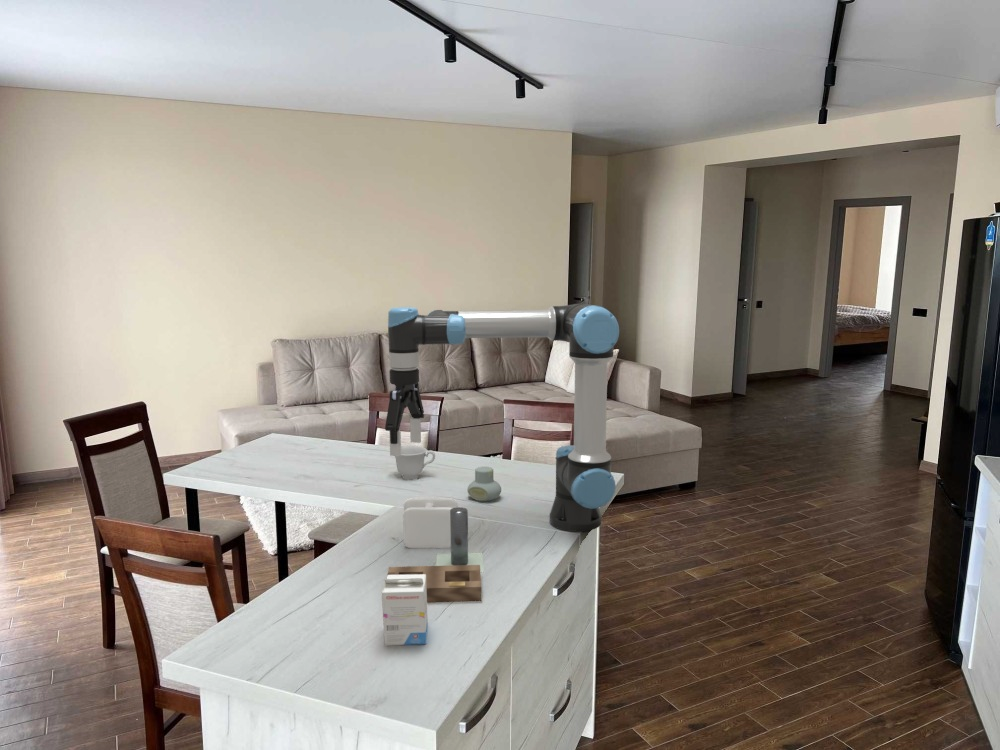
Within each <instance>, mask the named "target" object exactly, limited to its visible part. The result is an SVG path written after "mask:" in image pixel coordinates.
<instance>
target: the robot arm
mask: <svg viewBox="0 0 1000 750" xmlns="http://www.w3.org/2000/svg"><path fill="white" fill-rule="evenodd" d="M387 320H388V321H387V329H388V332H387V334H388V337H387V338H388V354H387V359H388V360H389V361H388V362H389V368H390V369H389V383H390V384H391V385H394V386H395V389H394V390H390V391H389V400H388V401H389V403H388V407H387V412H386V413H387V414H386V420H385V426H384V429H385V431H388V432H389V456H390V457H395V456H401V447H402V431H401V430H400V428H401V427H400V426H401V423H402V420H403V419H402V418H403V416H404V412H405V409H406V408H407V409H408V411H409V414H410V416H411V418H410V419H409V424H410V425H409V429H410V430H409V432H410V433H409V434H410V436H409V437H410V443H413V444H421V443H422V435H421V434H422V427H421V425H422V424H421V423H422V422H421V421H422V419H424V417H425V414H424V413H425V411H424V406H423V402H422V398H421V397H422V396H421V393H420V384H419V382H420V369H419V366H420V354H419V353H420V352H419V351H420V350H419V345H422V346H424V345H451V346H452V345H453V346H454V345H458V344H459V345H461V344H463V343H465V340H466V339H486V338H487V339H490V338H491V339H494V338H495V339H497V338H499V339H500V338H508V339H509V338H547V339H549V341H560V342H566V343H569V345H568V347H569V349H568V351H569V353H568V355H569V358H570V359H571V360H572V361H573V362H574V405H573V406H574V407H573V408H574V411H573V412H574V413H573V415H574V417H573V445H572V444H571V445H563V446H560V447H558V448H556V449H557V450H556V452H555V498H554V500H553V503H552V506H551V509H550V512H549V523H550V524H549V525H550V526H553V527H555V528H556V529H559V530H561V531H567V532H587V531H592V530H595V529H597V528H600V527H601V525H602V515H601V511H600V508H602V507H604V506H606V505H607V504H608V503H609V502H611V500H612V499H613V497H614V495H615V493H616V488H617V487H616V486H617V485H616V480H615V478H614V475H613V474H612V456H611V454H610V453H609V452H608V451H607V449H606V448H607V447H606V445H607V408H608V407H607V406H608V402H607V401H608V399H607V397H608V394H607V393H608V364H609V362H611V360H612V359H613V358H614V349H615V348H614V346H615V345H616V344H617V342H618V340H619V336H620V327H619V323H618V321H617V318H616V316H614V314H613V313H612V312H611V311H609V310H608V309H607V308H604V307H603V306H601V305H594V304H590V303H574V304H566V305H555V306H554V305H551V306H549V307H548V308H547V309H519V310H518V309H514V310H512V309H511V310H508V309H507V310H503V309H502V310H442V309H434V310H433V311H431V312H429V313H427V315H423V314H422V315H421V314H419V310H418V308H417V307H411V306H409V307H408V306H407V307H406V306H402V307H400V306H399V307H392V308H391V309H389V311H388V319H387Z"/></svg>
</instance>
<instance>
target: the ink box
mask: <svg viewBox="0 0 1000 750" xmlns="http://www.w3.org/2000/svg"><path fill="white" fill-rule="evenodd" d="M383 581H384V585H383V588H382V592H381V602H382V619H383V645H384V646H404V645H405V646H407V645H411V646H412V645H426V644H427V636H428V627H429V626H428V623H429V622H428V620H429V619H428V603H427V588H426V574H413V575H387V574H386V578H385V579H383Z"/></svg>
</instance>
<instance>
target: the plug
mask: <svg viewBox="0 0 1000 750" xmlns="http://www.w3.org/2000/svg"><path fill="white" fill-rule="evenodd" d="M468 519H469V510H468V508H466V507H459V506H458V507H457V508H452V509H451V510H450V535H451V548H450V554H451V564H452V565H467V564H468V553H469V531H468V530H469V523H468V522H469V520H468Z"/></svg>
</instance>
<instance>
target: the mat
mask: <svg viewBox="0 0 1000 750" xmlns="http://www.w3.org/2000/svg"><path fill="white" fill-rule="evenodd" d="M467 565H480V574H483V573H485V569H484V568H485V567H484V556H483V552H475V553H474V552H468V564H467ZM435 566H452V564H451V553H436V557H435Z"/></svg>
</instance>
